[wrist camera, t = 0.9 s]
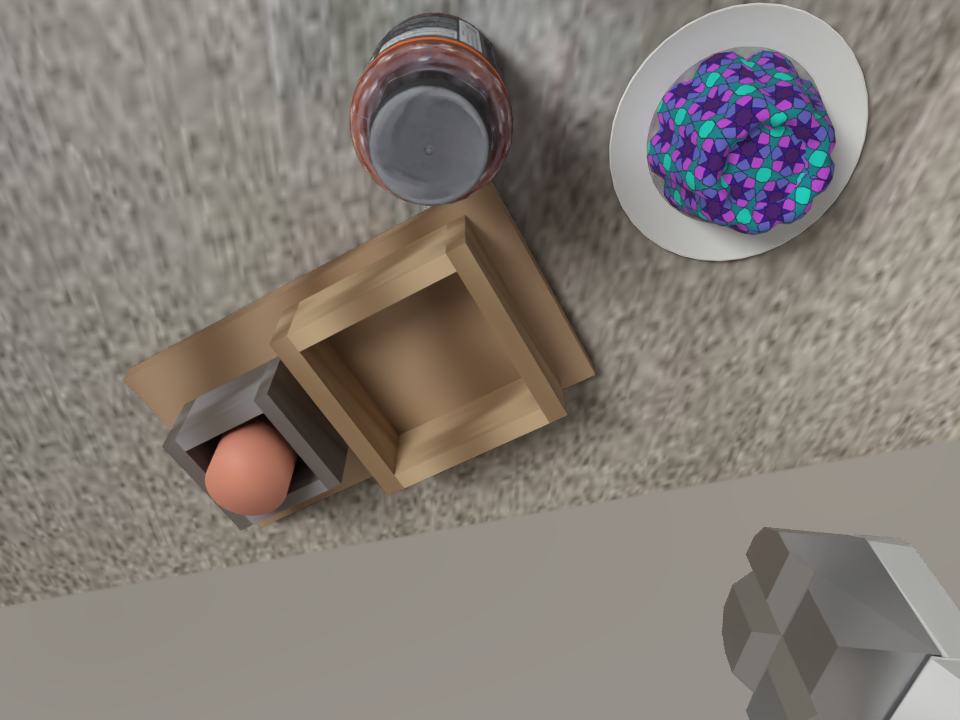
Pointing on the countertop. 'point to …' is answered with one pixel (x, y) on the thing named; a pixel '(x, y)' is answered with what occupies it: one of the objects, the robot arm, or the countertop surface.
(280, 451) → the button
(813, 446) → the countertop surface
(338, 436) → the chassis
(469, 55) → the supplement bottle
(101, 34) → the countertop surface
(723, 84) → the pudding
